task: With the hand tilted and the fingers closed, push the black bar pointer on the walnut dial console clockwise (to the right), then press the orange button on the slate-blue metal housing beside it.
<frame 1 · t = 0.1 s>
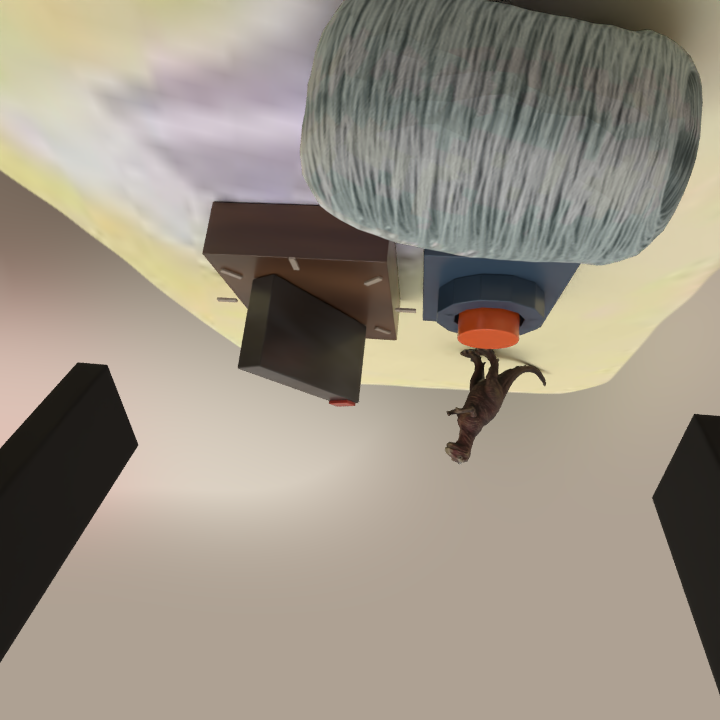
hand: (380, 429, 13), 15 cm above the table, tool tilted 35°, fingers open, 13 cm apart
dinosaur model: (504, 356, 57), on the table
buzzer: (490, 266, 37), on the table
pointer: (308, 346, 37), point 7 cm above the table, hinge at 30.0°
grey striped ovoid: (497, 46, 20), on the table
button: (488, 327, 36), point 4 cm above the table, slide at 0.1 cm
dial console: (320, 258, 39), on the table
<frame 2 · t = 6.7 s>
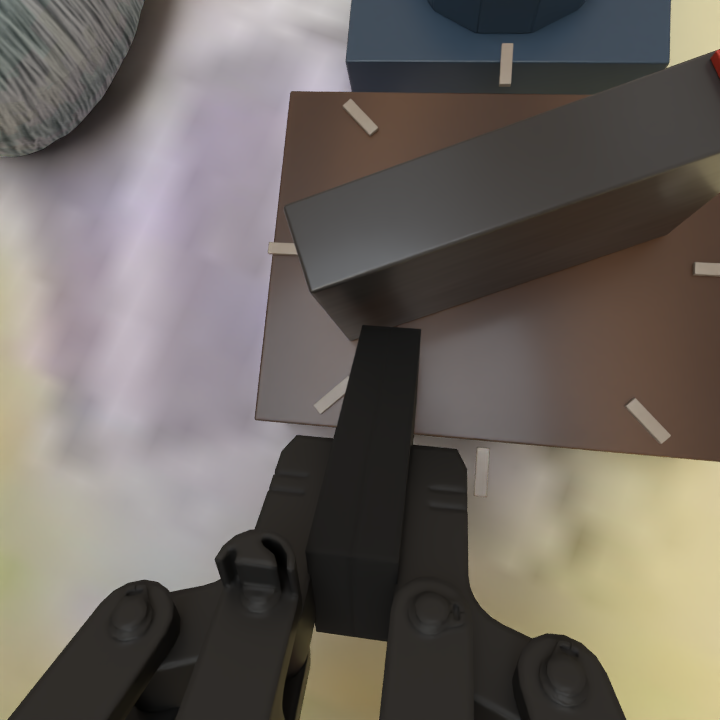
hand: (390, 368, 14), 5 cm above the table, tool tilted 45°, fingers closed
pointer: (510, 220, 13), point 7 cm above the table, hinge at 22.7°, touching gripper
grey striped ovoid: (76, 44, 24), on the table
dial console: (481, 289, 20), on the table
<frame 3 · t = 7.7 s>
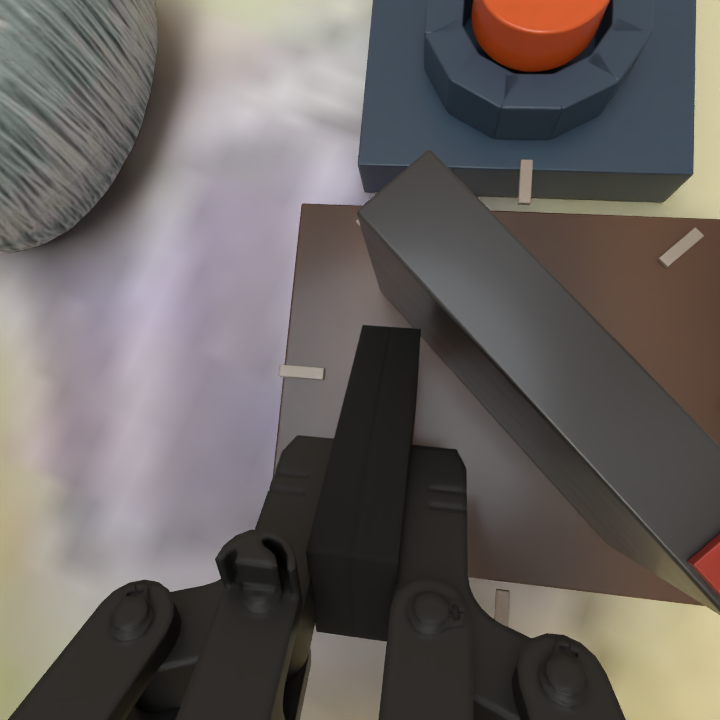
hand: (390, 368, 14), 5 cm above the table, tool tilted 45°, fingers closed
buzzer: (515, 86, 21), on the table
pointer: (535, 379, 13), point 7 cm above the table, hinge at -44.7°, touching gripper
grey striped ovoid: (79, 128, 23), on the table
dial console: (497, 396, 19), on the table
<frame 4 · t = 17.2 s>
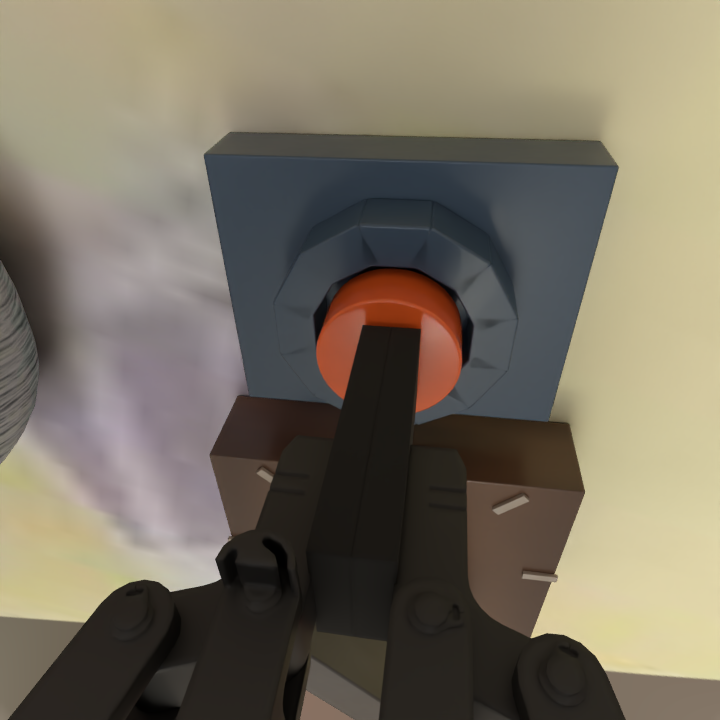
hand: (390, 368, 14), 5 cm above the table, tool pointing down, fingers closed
buzzer: (402, 271, 19), on the table
pointer: (378, 629, 21), point 7 cm above the table, hinge at -50.9°
button: (390, 344, 15), point 4 cm above the table, slide at -0.1 cm, touching gripper
dial console: (394, 492, 26), on the table
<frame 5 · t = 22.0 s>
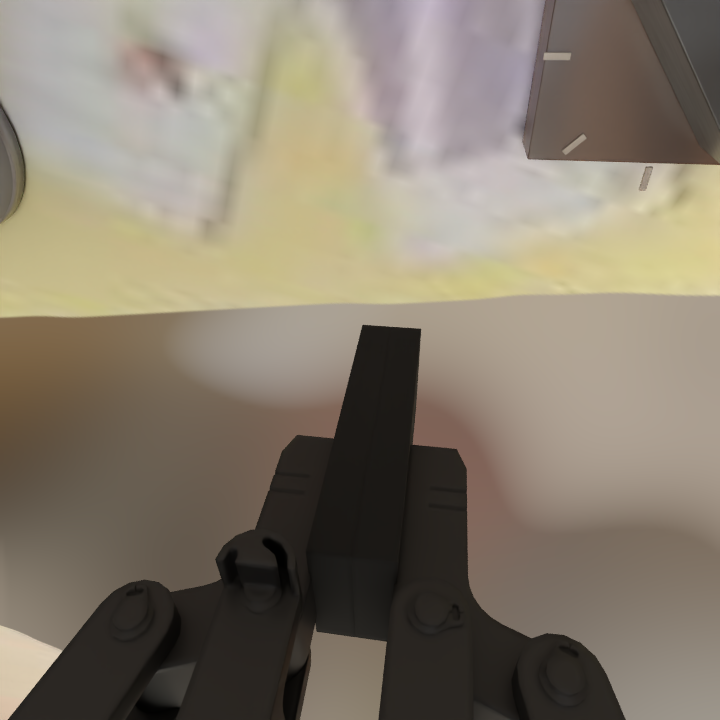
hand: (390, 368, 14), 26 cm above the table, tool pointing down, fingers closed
pointer: (704, 68, 26), point 7 cm above the table, hinge at -50.9°
dial console: (663, 46, 31), on the table
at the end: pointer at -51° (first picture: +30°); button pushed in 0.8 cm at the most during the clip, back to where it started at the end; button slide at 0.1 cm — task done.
